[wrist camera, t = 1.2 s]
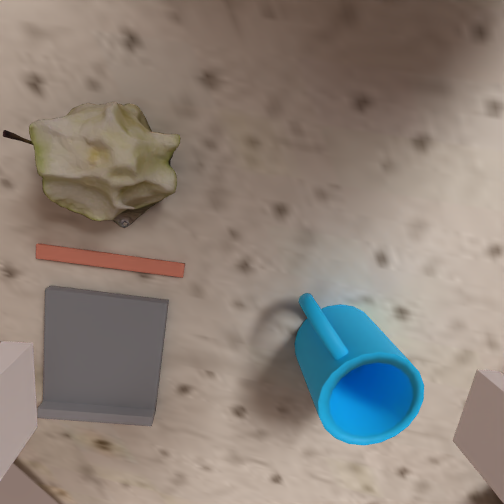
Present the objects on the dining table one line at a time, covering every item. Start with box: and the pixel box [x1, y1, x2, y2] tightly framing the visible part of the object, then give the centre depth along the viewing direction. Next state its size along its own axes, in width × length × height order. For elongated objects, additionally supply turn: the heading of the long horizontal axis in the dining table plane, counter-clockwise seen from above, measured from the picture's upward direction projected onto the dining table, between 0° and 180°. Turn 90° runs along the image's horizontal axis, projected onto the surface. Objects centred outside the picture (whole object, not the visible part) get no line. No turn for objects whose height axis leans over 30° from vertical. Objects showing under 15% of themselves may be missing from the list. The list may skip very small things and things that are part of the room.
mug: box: [295, 293, 424, 445], centre depth 28 cm, size 12×8×8 cm
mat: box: [37, 286, 169, 426], centre depth 30 cm, size 12×10×2 cm
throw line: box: [36, 243, 185, 278], centre depth 28 cm, size 1×12×1 cm, turn 80°
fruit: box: [3, 102, 180, 228], centre depth 24 cm, size 9×9×8 cm
